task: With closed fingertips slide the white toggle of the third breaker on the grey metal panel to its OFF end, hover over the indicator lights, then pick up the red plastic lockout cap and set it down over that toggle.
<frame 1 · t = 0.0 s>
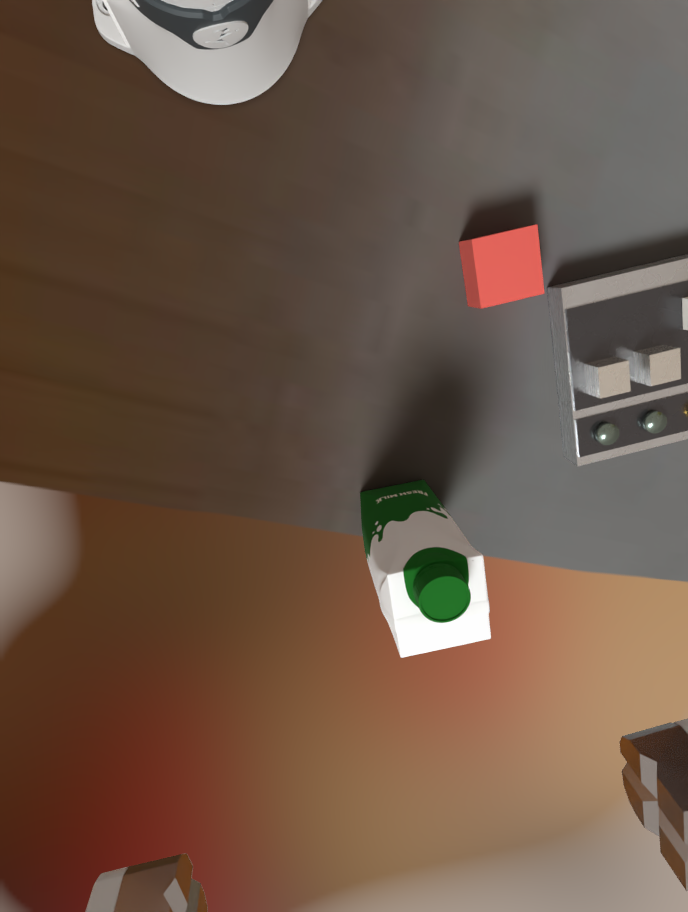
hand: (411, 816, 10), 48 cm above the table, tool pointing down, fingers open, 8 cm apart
lockout cap: (493, 267, 55), on the table
breaker panel: (630, 358, 59), on the table
milk carton: (396, 515, 62), on the table
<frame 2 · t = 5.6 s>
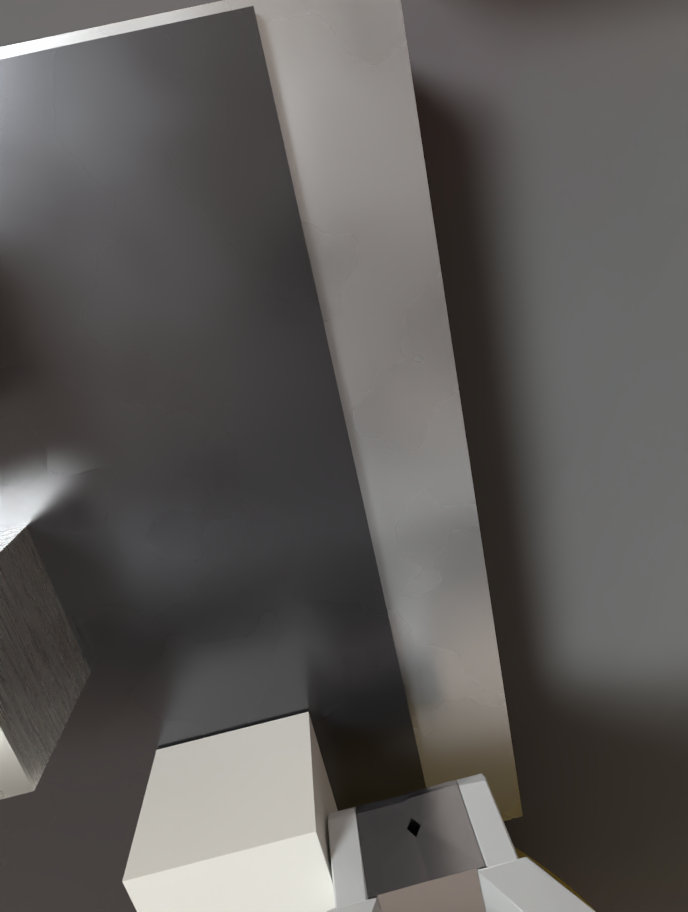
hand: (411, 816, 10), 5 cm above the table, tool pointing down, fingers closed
breaker toggle: (249, 847, 10), point 5 cm above the table, slide at 0.4 cm, touching gripper
breaker panel: (46, 540, 13), on the table
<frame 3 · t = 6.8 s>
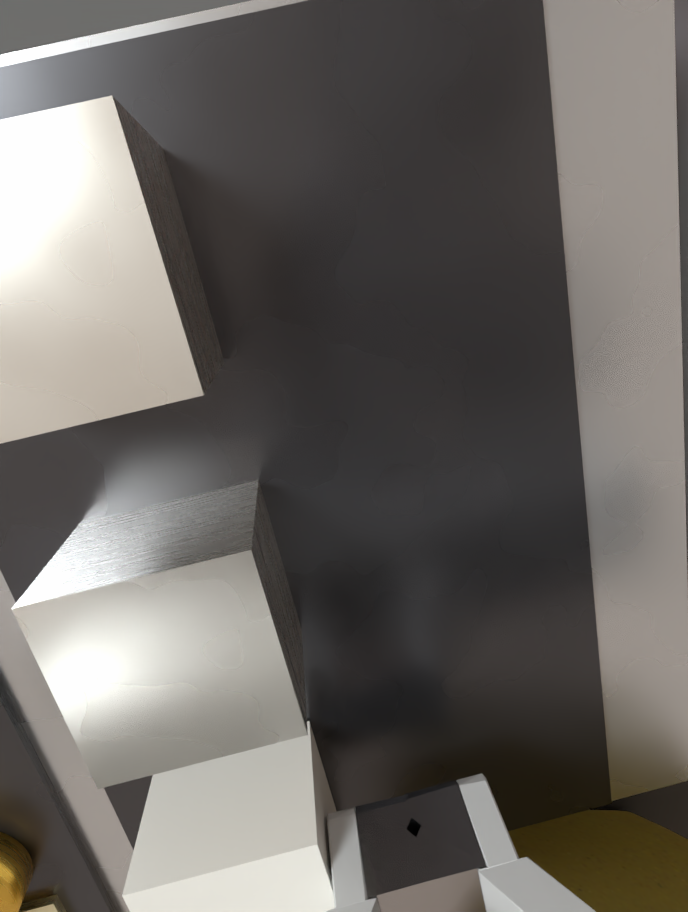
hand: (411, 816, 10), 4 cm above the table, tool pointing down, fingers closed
flower pot: (531, 856, 18), on the table
breaker toggle: (250, 858, 10), point 5 cm above the table, slide at 4.3 cm, touching gripper
breaker panel: (216, 506, 13), on the table
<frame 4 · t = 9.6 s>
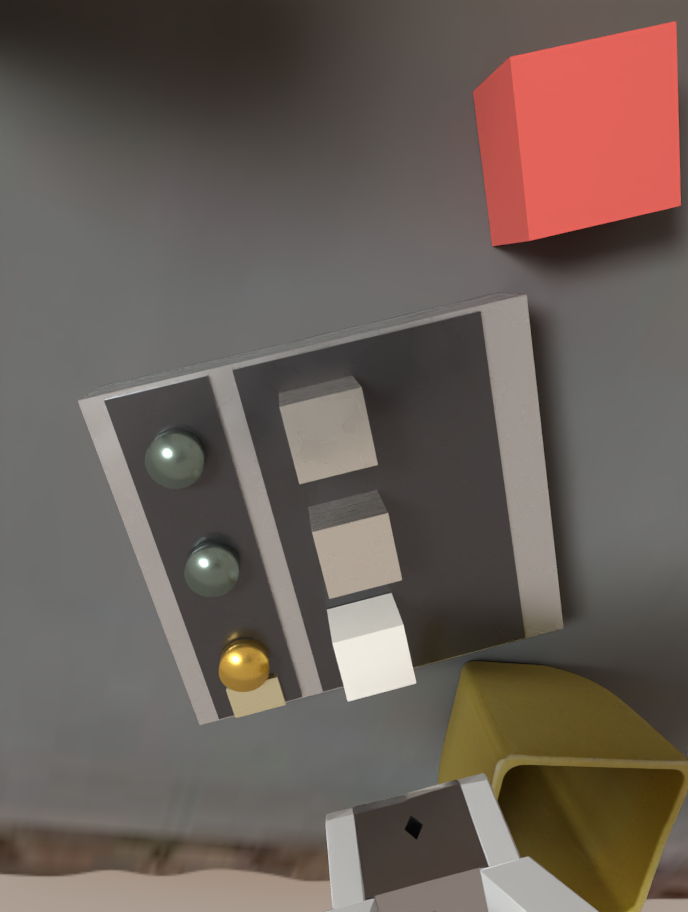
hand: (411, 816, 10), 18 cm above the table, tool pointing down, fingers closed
flower pot: (494, 694, 33), on the table
breaker toggle: (370, 645, 25), point 4 cm above the table, slide at 4.3 cm
lockout cap: (551, 156, 24), on the table
breaker panel: (341, 502, 28), on the table
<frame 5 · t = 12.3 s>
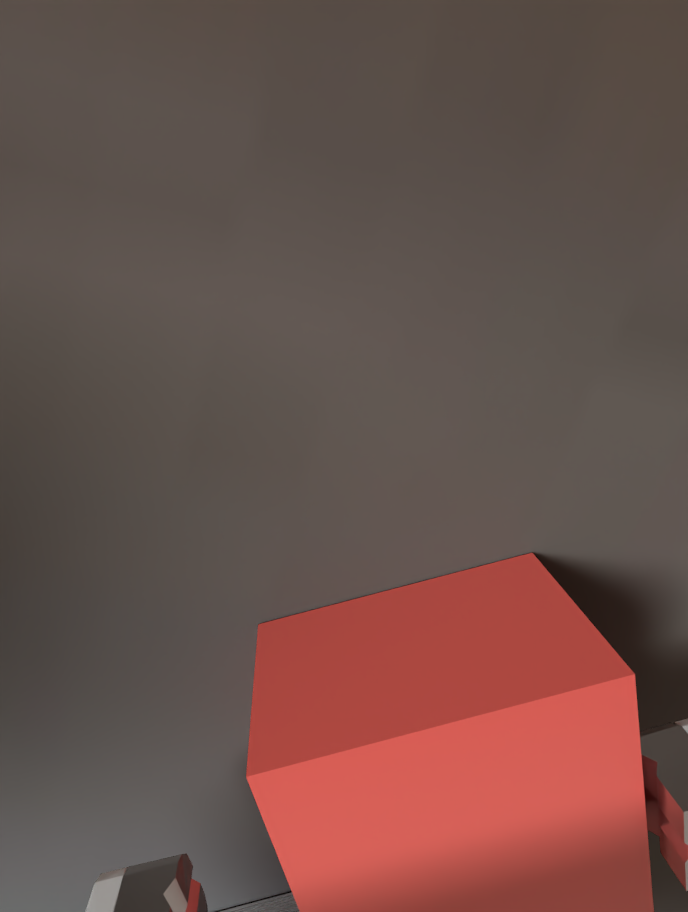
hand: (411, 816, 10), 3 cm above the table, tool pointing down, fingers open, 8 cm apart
lockout cap: (422, 697, 13), on the table
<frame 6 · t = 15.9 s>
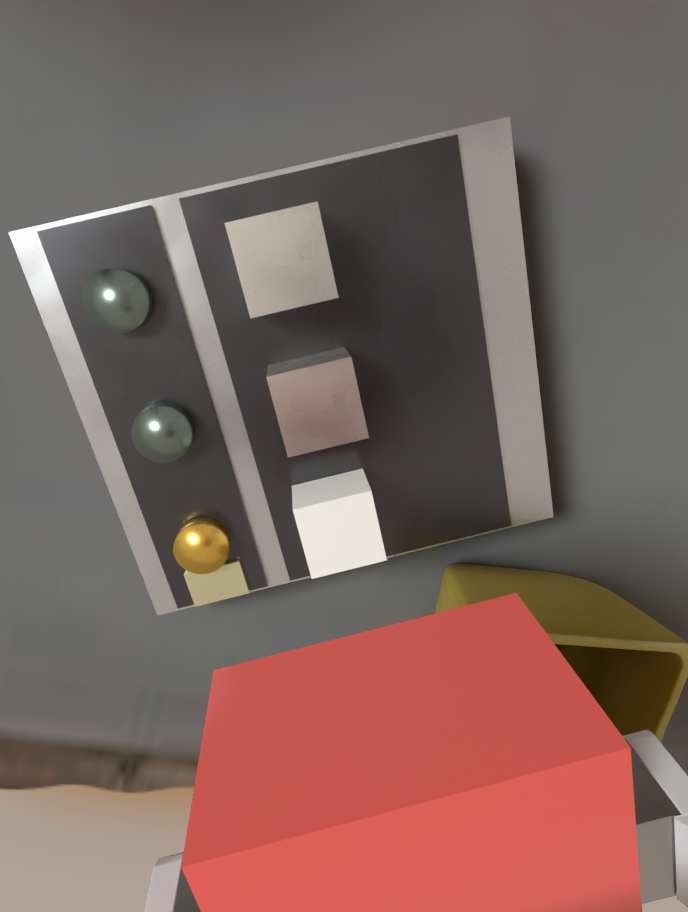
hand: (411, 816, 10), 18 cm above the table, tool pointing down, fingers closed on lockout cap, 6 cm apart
flower pot: (482, 603, 30), on the table
breaker toggle: (337, 521, 23), point 4 cm above the table, slide at 4.3 cm
lockout cap: (395, 749, 12), point 16 cm above the table, touching gripper
breaker panel: (311, 378, 25), on the table
when the fingers open (5 cm above the table, at t = 18.7 s): lockout cap stays where it is, resting on breaker panel.
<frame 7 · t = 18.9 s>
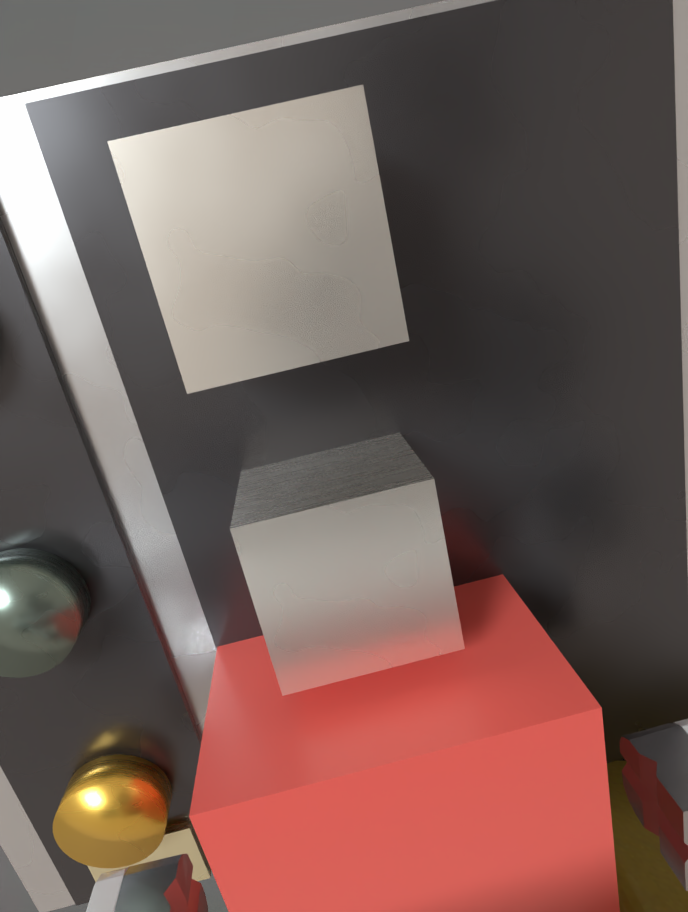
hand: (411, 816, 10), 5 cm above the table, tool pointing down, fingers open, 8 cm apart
flower pot: (594, 808, 19), on the table
lockout cap: (389, 723, 13), point 3 cm above the table, touching breaker panel
breaker panel: (325, 469, 14), on the table
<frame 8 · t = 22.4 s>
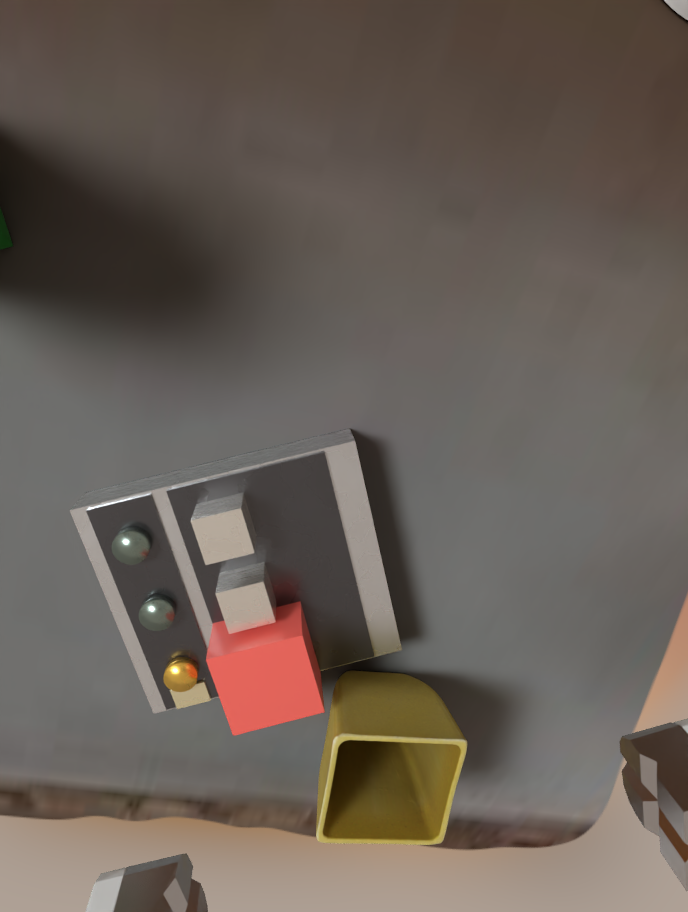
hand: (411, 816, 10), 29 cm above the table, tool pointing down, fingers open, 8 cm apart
flower pot: (370, 694, 46), on the table
lockout cap: (268, 648, 39), point 3 cm above the table, touching breaker panel
breaker panel: (250, 563, 41), on the table
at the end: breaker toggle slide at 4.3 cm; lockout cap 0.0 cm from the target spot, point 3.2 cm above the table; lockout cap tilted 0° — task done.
